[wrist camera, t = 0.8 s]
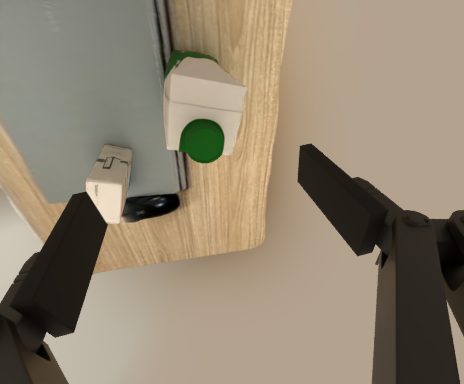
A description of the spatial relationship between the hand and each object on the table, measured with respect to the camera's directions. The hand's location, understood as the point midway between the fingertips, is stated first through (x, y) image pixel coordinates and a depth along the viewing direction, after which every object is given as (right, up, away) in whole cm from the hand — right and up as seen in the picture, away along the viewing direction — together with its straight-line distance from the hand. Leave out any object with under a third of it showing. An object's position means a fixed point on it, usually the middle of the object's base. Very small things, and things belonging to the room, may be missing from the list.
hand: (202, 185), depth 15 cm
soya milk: (-5, +18, +23) cm, 30 cm away
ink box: (-20, +5, +30) cm, 37 cm away
